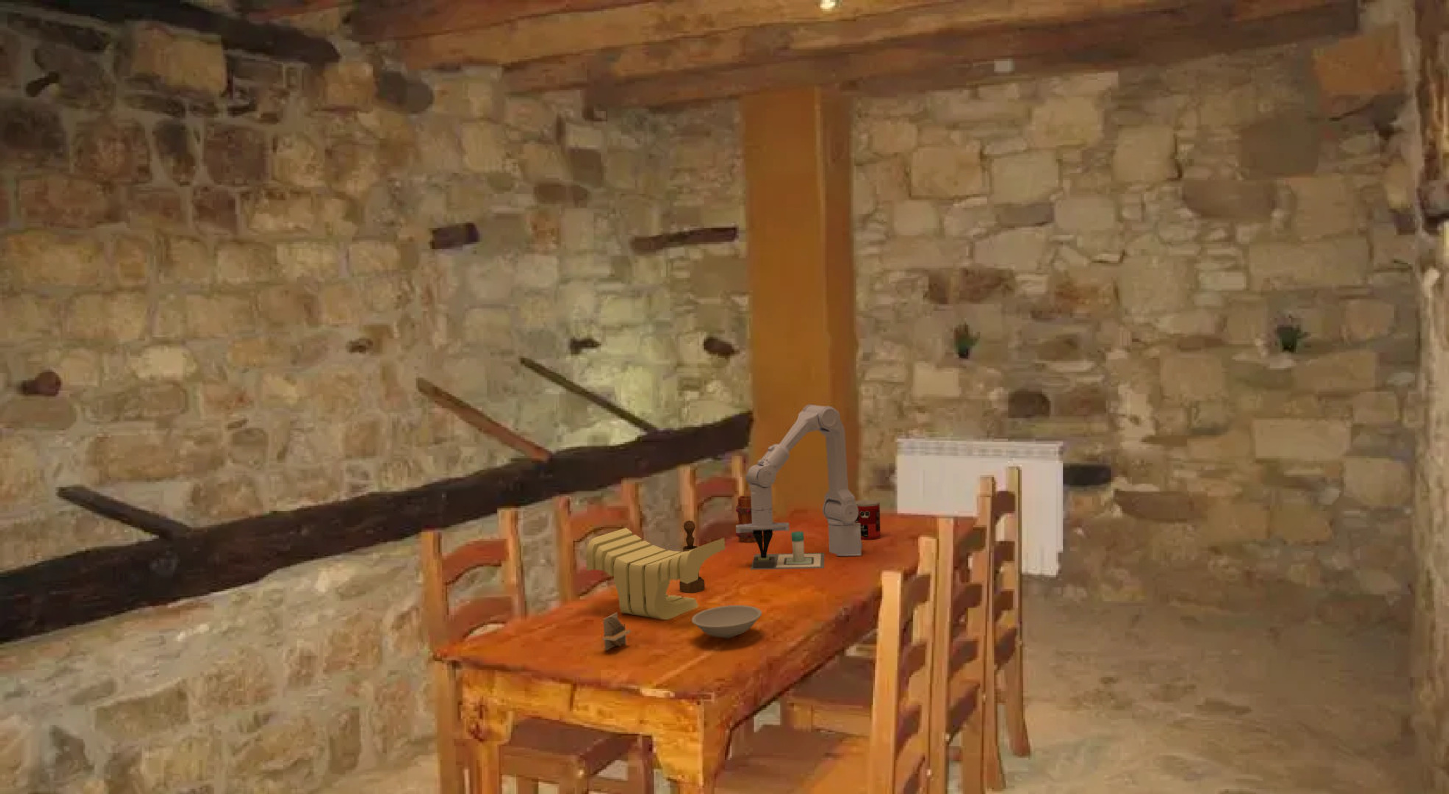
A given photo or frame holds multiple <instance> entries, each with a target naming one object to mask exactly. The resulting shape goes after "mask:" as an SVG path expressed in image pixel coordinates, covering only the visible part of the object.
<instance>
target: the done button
mask: <svg viewBox="0 0 1449 794" xmlns="http://www.w3.org/2000/svg"><path fill="white" fill-rule="evenodd" d="M758 561H770V556H766V558H761V556H759V557H758Z"/></svg>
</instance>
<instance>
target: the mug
mask: <svg viewBox="0 0 1449 794" xmlns="http://www.w3.org/2000/svg"><path fill="white" fill-rule="evenodd" d="M735 508H736V509H735V512H736V513H737V518H738V519H737V520H738V525H743V524H751V523H752V511H751V490H750V489H745V490H744V491H743V495H739V497H737V505H736V507H735ZM756 530H757V529H756ZM735 536H737V537H738V540H739V541H738V542H740V543H741V544H743V543H747V544H748V543H757V541H756V539H755V537H754V535H753V532H740V533H736V532H735Z"/></svg>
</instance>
